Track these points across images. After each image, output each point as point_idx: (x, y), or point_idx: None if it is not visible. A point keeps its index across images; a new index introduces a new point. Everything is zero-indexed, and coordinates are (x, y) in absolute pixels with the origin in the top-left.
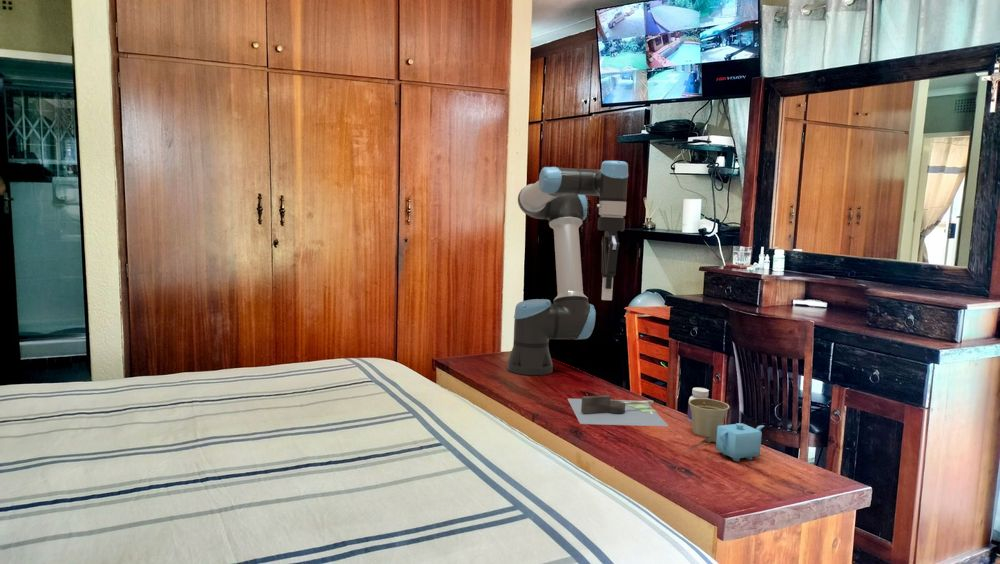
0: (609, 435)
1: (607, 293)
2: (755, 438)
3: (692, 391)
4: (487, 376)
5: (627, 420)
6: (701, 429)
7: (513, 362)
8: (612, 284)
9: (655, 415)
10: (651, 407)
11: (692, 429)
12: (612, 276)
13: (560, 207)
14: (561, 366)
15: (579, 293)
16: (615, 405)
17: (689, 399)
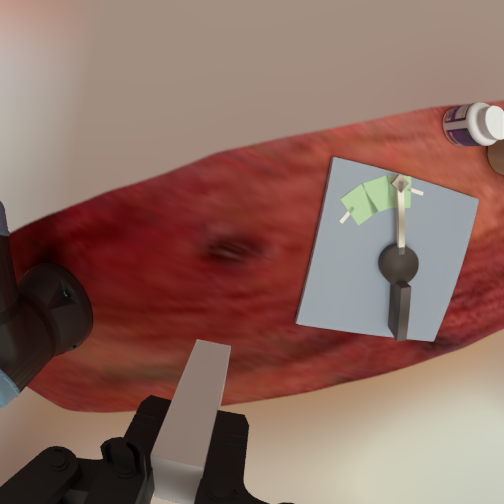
0: (461, 301)
1: (220, 398)
2: None
3: (491, 138)
4: (111, 387)
5: (442, 259)
6: None
7: (67, 349)
8: (212, 422)
9: (429, 190)
10: (382, 169)
11: (500, 172)
12: (239, 494)
13: None
14: (24, 232)
15: None
16: (414, 273)
17: (482, 143)
